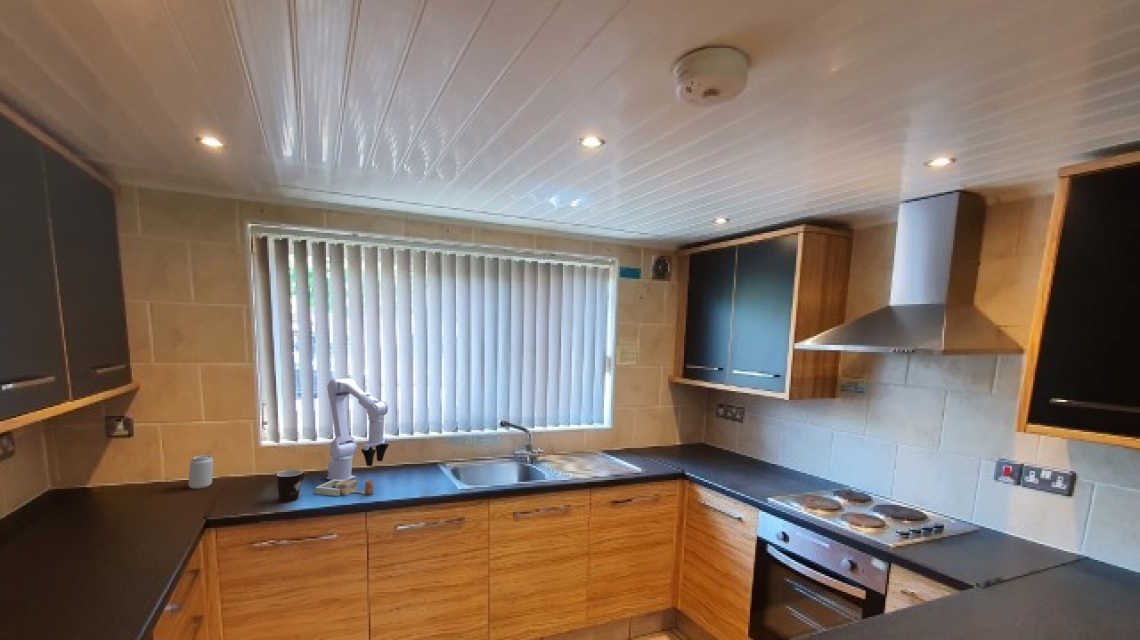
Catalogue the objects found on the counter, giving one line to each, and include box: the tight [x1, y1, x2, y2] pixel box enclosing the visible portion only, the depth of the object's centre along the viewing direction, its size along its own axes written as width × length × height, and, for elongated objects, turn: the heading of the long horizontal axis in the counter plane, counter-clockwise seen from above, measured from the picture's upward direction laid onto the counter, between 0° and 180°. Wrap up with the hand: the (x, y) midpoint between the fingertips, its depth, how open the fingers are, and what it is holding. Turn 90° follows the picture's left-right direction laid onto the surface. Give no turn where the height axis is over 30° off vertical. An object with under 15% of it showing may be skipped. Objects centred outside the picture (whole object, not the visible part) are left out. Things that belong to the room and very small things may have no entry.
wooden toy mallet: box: [335, 479, 374, 496], centre depth 188 cm, size 14×6×5 cm, turn 82°
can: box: [188, 454, 214, 490], centre depth 189 cm, size 8×8×12 cm
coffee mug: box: [276, 469, 305, 503], centre depth 180 cm, size 12×9×10 cm
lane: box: [314, 479, 343, 497], centre depth 190 cm, size 10×11×2 cm
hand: (374, 463), depth 196 cm, fingers open, 7 cm apart
